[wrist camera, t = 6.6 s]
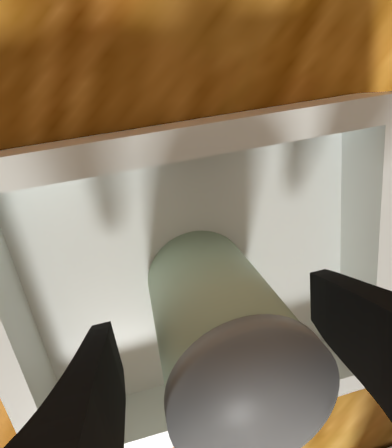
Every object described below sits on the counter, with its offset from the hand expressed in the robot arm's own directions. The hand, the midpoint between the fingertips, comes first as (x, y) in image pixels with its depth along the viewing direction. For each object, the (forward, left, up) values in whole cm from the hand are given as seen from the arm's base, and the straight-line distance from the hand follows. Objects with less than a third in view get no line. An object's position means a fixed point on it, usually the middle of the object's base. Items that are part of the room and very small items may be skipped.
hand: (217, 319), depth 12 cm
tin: (0, 0, -3) cm, 3 cm away
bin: (0, 0, -4) cm, 4 cm away
